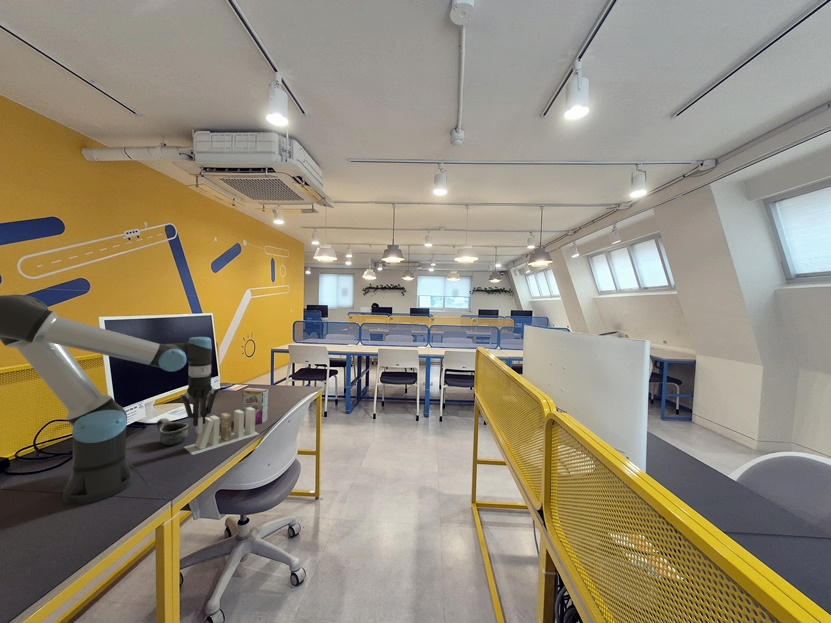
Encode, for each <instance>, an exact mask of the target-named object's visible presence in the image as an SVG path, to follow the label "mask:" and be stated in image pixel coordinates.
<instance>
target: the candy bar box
mask: <svg viewBox="0 0 831 623" xmlns="http://www.w3.org/2000/svg"><path fill="white" fill-rule="evenodd" d="M241 395H242V398H241V399H242V402H241V411H243V412H244V423H245V417H246V408H248V407H252V408H254V409H256V410H255V424H263V423H265V422H266V421H268V409H269V408H268V406H269V403H268V402H269V388H268V389H267V388H255V387H246V388H245V389H243V390H242V394H241Z"/></svg>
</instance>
